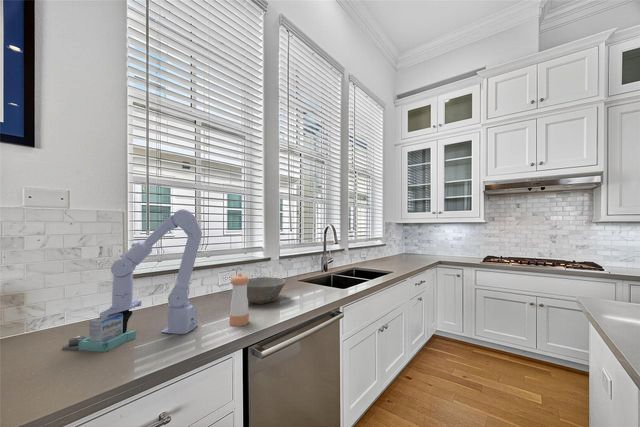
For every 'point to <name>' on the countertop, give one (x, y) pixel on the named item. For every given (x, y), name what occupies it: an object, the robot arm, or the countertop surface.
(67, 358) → the countertop surface
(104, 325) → the medicine box
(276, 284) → the ceramic bowl
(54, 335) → the countertop surface
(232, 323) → the salt shaker
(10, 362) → the countertop surface
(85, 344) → the chassis
